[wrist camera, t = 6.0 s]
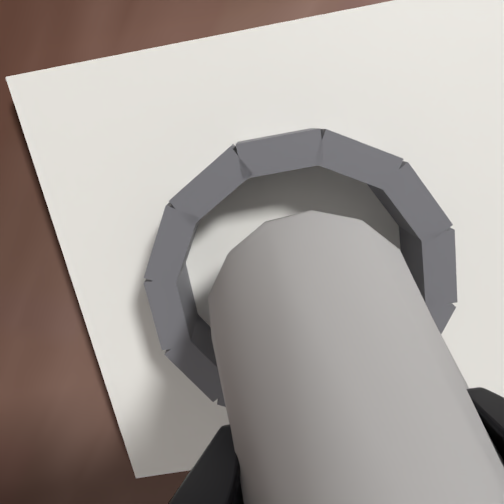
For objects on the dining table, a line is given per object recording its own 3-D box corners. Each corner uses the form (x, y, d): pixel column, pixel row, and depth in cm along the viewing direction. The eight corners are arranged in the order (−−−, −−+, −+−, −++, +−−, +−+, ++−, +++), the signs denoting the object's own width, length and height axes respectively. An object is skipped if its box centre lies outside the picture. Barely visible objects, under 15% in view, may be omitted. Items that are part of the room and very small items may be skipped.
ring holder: (503, -15, 13) (574, -54, 10) (504, 405, 18) (553, 459, 15) (22, 80, 14) (-37, 68, 11) (141, 460, 18) (121, 521, 16)
